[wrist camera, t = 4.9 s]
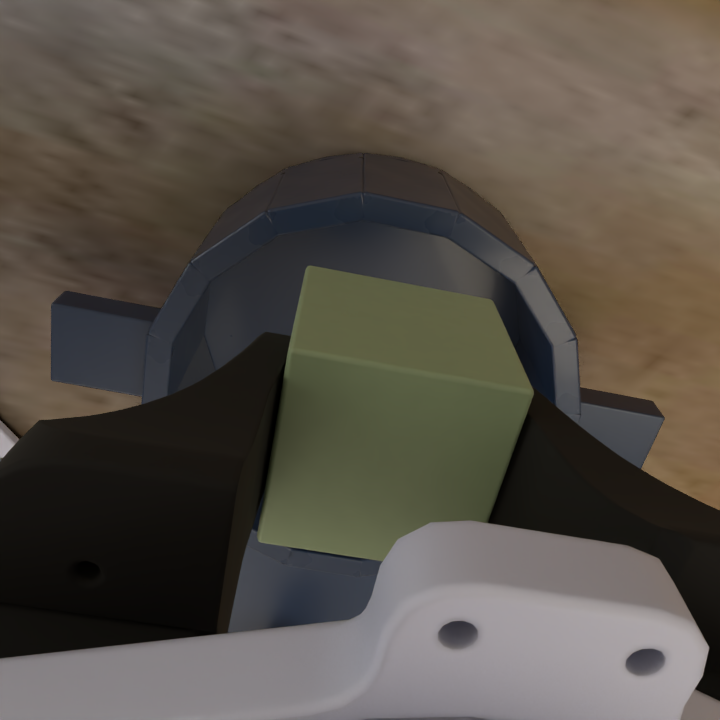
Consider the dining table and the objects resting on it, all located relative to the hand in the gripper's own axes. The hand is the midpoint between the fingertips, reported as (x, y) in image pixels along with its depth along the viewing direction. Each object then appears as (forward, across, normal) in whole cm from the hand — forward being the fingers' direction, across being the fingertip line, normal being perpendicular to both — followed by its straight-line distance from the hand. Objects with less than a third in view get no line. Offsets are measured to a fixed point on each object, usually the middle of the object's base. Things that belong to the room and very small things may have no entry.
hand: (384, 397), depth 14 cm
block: (+1, 0, 0) cm, 1 cm away
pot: (+9, 0, +3) cm, 10 cm away
